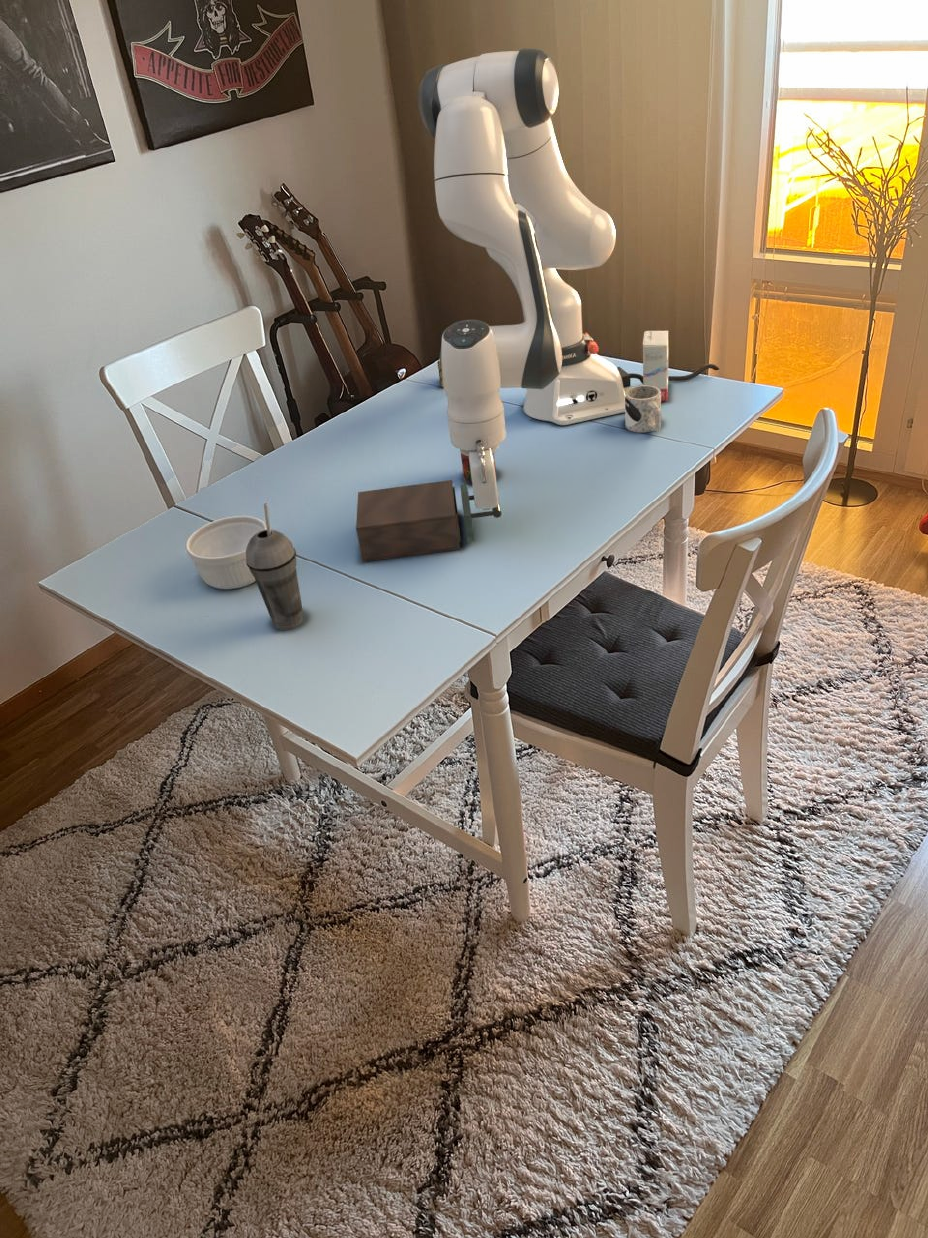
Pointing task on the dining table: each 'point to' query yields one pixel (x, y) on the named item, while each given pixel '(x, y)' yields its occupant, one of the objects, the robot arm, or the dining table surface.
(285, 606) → the beverage cup
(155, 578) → the dining table surface
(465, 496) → the drawer
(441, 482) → the cabinet
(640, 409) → the mug
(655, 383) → the ink box
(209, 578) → the ramekin
